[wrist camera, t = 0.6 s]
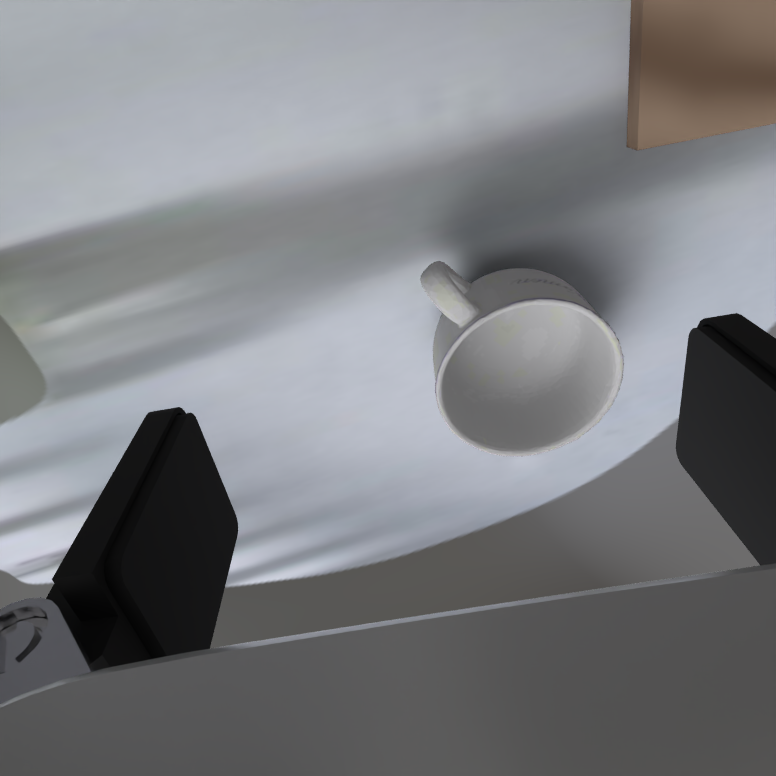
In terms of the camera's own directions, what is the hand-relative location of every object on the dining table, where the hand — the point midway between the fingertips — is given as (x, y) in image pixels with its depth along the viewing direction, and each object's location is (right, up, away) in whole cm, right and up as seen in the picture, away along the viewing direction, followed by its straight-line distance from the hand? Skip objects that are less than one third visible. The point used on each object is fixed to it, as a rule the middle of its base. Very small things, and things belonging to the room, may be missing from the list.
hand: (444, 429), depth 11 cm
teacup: (+6, +6, +28) cm, 29 cm away
